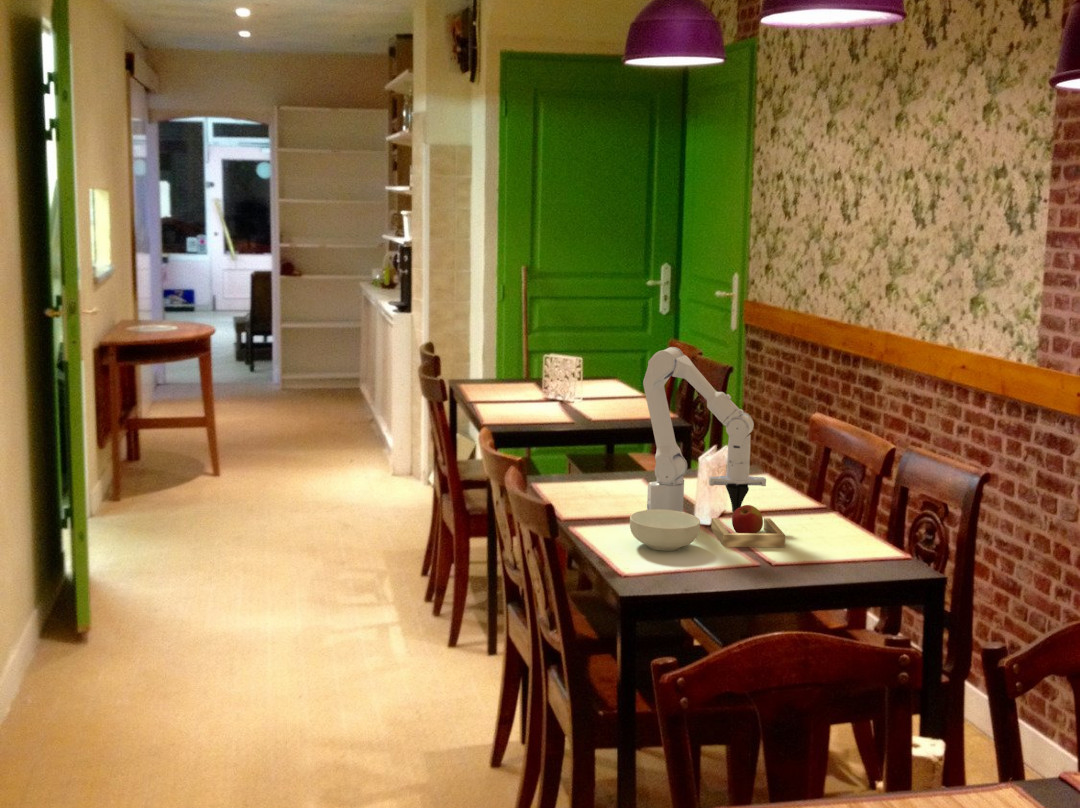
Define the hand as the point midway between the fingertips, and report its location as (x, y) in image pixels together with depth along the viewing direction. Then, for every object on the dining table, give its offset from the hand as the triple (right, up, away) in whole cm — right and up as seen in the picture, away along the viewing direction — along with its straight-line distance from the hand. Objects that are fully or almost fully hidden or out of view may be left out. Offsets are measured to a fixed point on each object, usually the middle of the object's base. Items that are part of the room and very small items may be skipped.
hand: (735, 512), depth 329 cm
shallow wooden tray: (+1, -5, -12) cm, 13 cm away
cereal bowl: (-21, -7, -21) cm, 31 cm away
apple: (+1, -5, -12) cm, 13 cm away
